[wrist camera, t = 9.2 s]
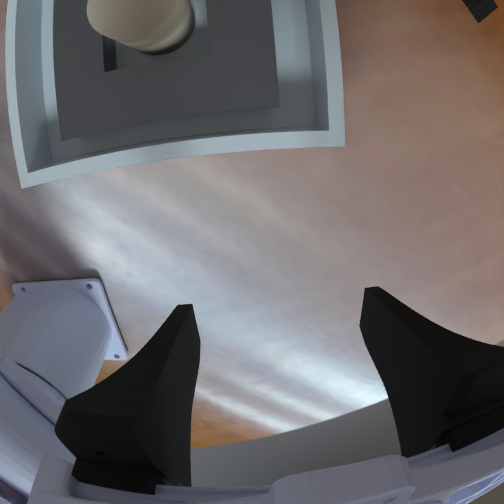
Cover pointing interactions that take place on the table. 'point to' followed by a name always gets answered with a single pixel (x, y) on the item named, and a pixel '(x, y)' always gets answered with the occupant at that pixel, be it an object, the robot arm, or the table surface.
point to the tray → (178, 128)
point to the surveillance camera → (480, 8)
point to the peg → (144, 23)
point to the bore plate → (162, 71)
